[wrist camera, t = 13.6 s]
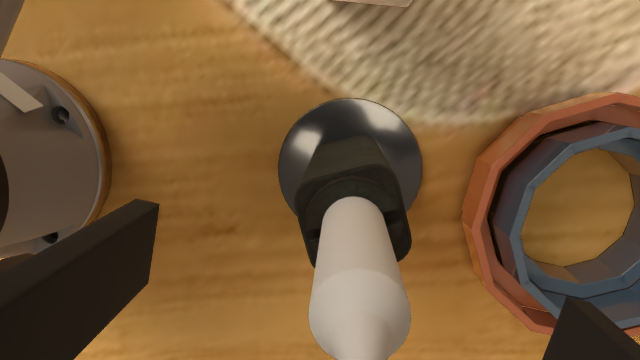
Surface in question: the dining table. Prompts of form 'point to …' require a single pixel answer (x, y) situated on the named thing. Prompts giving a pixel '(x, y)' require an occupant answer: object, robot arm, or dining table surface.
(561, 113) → the stacked bowls
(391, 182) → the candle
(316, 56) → the dining table surface
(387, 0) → the milk
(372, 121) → the slate coaster
